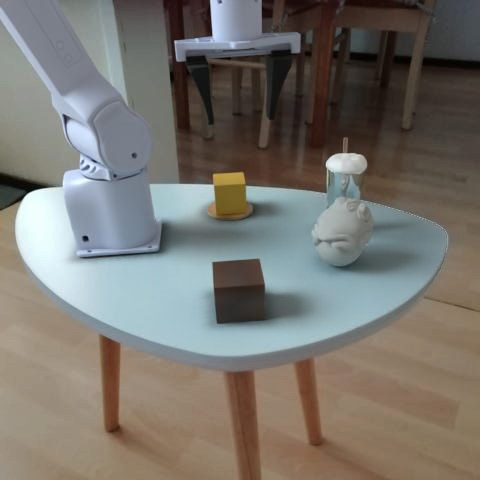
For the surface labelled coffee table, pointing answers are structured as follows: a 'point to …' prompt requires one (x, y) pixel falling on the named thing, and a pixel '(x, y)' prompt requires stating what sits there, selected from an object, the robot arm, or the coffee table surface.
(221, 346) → the coffee table surface
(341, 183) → the milkshake
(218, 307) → the walnut block
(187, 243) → the coffee table surface
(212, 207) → the cork coaster
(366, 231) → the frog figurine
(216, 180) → the top cube
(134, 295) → the coffee table surface
